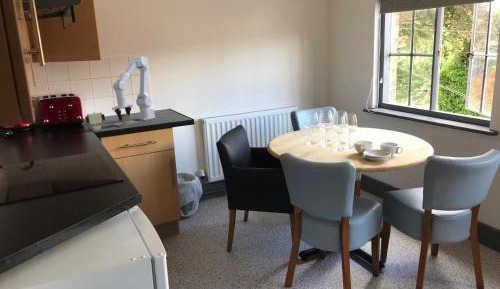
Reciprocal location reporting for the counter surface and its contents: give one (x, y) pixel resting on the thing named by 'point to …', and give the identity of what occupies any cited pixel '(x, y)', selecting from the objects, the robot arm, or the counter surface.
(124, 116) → the knob
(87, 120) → the pneumatic valve
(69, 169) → the counter surface
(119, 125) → the mount plate
